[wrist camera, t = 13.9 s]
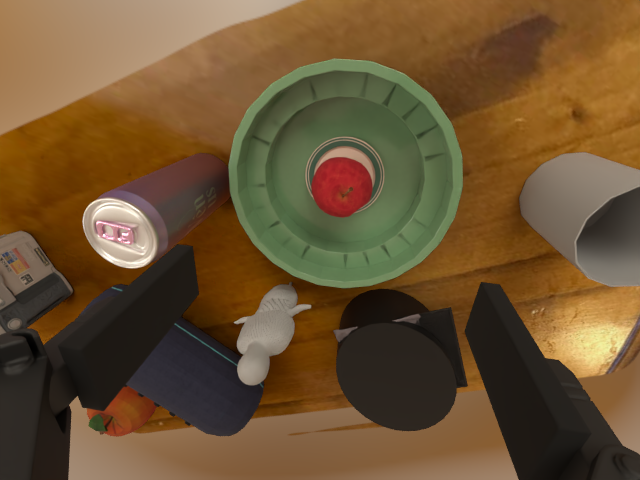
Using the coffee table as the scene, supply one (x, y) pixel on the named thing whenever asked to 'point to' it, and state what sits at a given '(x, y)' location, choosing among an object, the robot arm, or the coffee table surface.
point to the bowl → (377, 131)
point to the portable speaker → (194, 378)
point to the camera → (27, 282)
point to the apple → (344, 176)
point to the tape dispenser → (398, 360)
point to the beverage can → (156, 210)
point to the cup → (588, 215)
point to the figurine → (267, 332)
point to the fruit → (122, 413)
